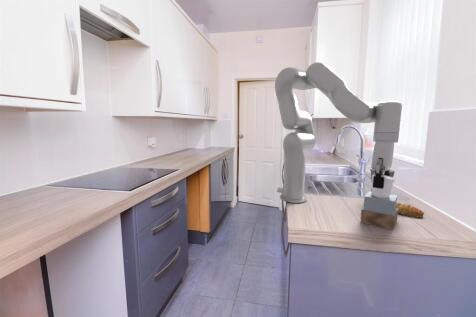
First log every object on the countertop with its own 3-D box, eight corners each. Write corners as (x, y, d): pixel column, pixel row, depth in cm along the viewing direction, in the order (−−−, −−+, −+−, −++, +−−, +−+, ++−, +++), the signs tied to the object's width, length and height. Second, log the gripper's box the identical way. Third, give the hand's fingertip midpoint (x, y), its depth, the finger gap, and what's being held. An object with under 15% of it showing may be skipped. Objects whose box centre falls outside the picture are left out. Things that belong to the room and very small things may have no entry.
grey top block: (363, 209, 85) (364, 196, 85) (368, 203, 92) (369, 191, 92) (393, 215, 80) (394, 201, 79) (396, 208, 87) (397, 195, 86)
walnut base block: (360, 222, 86) (361, 209, 86) (366, 214, 94) (367, 202, 93) (392, 230, 80) (394, 216, 79) (396, 221, 88) (398, 208, 87)
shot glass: (371, 190, 90) (374, 173, 89) (392, 195, 86) (396, 176, 84) (367, 195, 85) (369, 176, 84) (389, 200, 81) (392, 180, 79)
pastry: (424, 215, 94) (425, 206, 93) (421, 220, 89) (422, 210, 89) (397, 209, 101) (397, 200, 100) (392, 213, 96) (393, 204, 95)
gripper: (378, 136, 92) (374, 179, 94) (367, 138, 79) (363, 188, 81) (402, 137, 87) (397, 182, 89) (394, 139, 74) (388, 192, 77)
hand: (380, 185), depth 85 cm, fingers open, 9 cm apart
